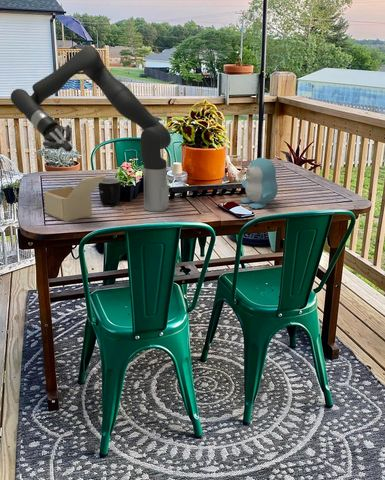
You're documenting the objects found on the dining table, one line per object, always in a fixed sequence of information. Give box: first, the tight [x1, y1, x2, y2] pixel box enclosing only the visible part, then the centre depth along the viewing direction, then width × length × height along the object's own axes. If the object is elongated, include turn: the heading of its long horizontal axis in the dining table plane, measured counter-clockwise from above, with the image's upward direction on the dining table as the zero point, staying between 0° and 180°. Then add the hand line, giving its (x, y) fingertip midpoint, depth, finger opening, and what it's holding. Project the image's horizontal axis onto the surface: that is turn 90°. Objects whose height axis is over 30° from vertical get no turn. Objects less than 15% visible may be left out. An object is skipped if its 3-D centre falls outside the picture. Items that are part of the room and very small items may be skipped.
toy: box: [240, 157, 278, 210], centre depth 209 cm, size 24×14×20 cm, turn 21°
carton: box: [43, 185, 93, 222], centre depth 192 cm, size 14×13×9 cm
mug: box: [98, 177, 121, 207], centre depth 205 cm, size 12×9×10 cm
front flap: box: [67, 174, 107, 199], centre depth 181 cm, size 14×10×1 cm
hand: (70, 149), depth 185 cm, fingers closed
